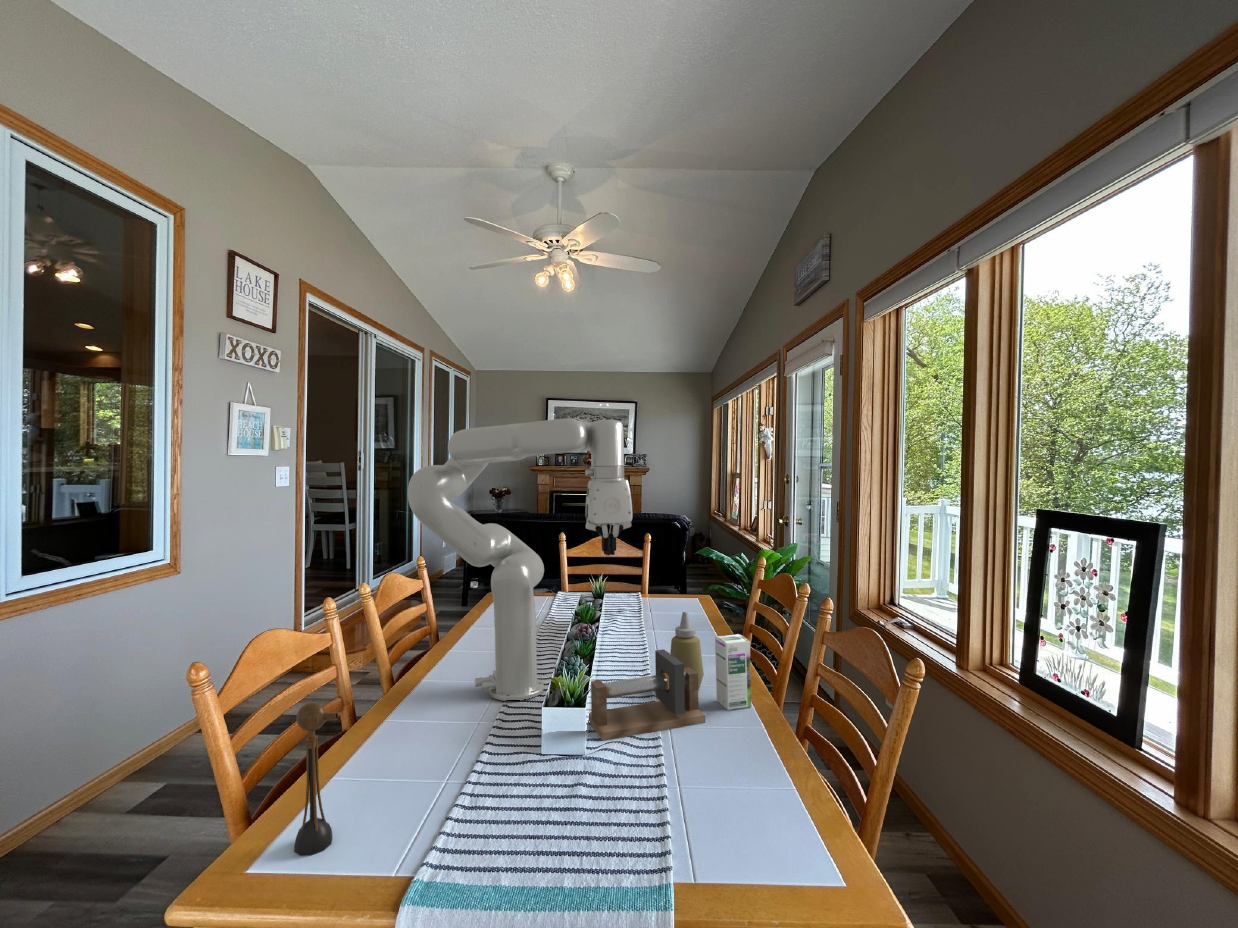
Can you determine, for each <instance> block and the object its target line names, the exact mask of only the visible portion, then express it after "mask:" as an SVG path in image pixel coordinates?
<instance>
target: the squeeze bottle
mask: <svg viewBox="0 0 1238 928" xmlns="http://www.w3.org/2000/svg"><path fill="white" fill-rule="evenodd" d="M674 631H675V634H674V635H675V636H673V637H672V638H671V643H670V652H669V653H670V654H671V655H672V656H674V657H675V658H677V659H678V660H679V661H681V662H682V663H684V668H687V667H690V668H691V669H693V670H694V671H696V672H697V673H698V692H699V691H700V688H701V684H702V681H703V678H704V676H705V675H704V666H703V657H702V656H703V655H702V649H701V648H702V647H701V639H700V638H699V637H698V636H697V635H696V628H695V626H692V625H691V622H690V617H689V613H688V611H683V612H682V614H681V619H680V625H677V626H676V627H675V630H674Z"/></svg>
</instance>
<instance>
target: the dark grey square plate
mask: <svg viewBox="0 0 1238 928" xmlns="http://www.w3.org/2000/svg"><path fill="white" fill-rule="evenodd" d="M654 652H655V653H654V654H655V655H654V657H655V662H654V663H655V675H661V674H664V673H667V674H668V675H669V689H668V690H658V691H655V697H656V698H657V699H658V701H661V702H662V703H663V704H664V705H665V706H666V707H667V708H669V709H670V710H671V711H672V712H673V713H674V714H675V715H680V714H685V695H684V663H682V662H681V661H679V660H678V659H677V658H675V657H674V656H672V655H671V654H670V652H668V651H667V650H666V649H656V650H654Z"/></svg>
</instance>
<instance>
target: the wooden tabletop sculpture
mask: <svg viewBox="0 0 1238 928" xmlns="http://www.w3.org/2000/svg"><path fill="white" fill-rule="evenodd" d="M338 718H339V712H338V711H332V712H328V711H327V712H326V709H325V707H324V706H323V704H320V703H318V702H316V701H313V702H307V703H305V704H304V705H302V706H301V707H300V708H299V710H297V713H296V720H295V721H296V722H297V723H296V724H297V726H299V728H301V729H302V731H307V732H308V736H307V737H305V740H304V741H305V749H306V752H305V753H306V754H305V756H306V784H305V786H306V787H305V788H306V789H305V790H306V792H305V804H304V814H303V819H302V820H303V821H302V825H301V827H300V828H299V829H298V831H297V834H296V837H295V841H294V848H293V849H294V853H295V854H297V855H298V856H303V857H304V856H312V855H315V854H318V853H320V852H321V853H322V852H324V851H325V850H326V849H327V848H328V847H330V846H331V845H332V843H333V831H332V830H333V829H332V827H331V825H330V823H328V821H326V818H325V814H324V809H323V803H322V799H321V797H322V796H321V789H320V778H319V777H320V776H319V773H320V771H319V770H320V769H319V740H318V738H319V735H317V734H316V730H319V729H321V727H323V725H324V724H325V722H327V721H337V720H338ZM317 800H318V807H319V812H320V816H321V817H318V810H317ZM308 805H309V807H308ZM308 808H309V809H308ZM308 810H309V820H307V815H308Z"/></svg>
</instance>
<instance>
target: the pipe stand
mask: <svg viewBox="0 0 1238 928" xmlns="http://www.w3.org/2000/svg"><path fill="white" fill-rule="evenodd" d="M668 689H669V675H668V674H667V673H664V674H661V675H656V674H654V675H648V676H641V677H635V678H628V679H621V680H614V681H608V682H603V681H602V680H601V679H600V680H599V679H598V680H597V679H596V680H592V681H590V701H591V703H590V704H591V707H590V708H591V710H590V711H591V712H590V713H589V712H588V713H589V721H590V723H589V725H591V727H592V728H593V730H594V731H595V733H596V735H597V736H598V737H599V738H600V740H601V741H602V742H604V741H609V740H610V741H611V740H615V739H621V738H627V737H632V736H637V735H643V734H648V733H653V732H659V731H665V730H670V729H671V730H672V729H677V728H682V727H687V726H693V725H698V724H703V723H704V724H705V723H706V714H705V713H704V712H702V711H701V710H700V709H699V691H698V673H697V672H696V671H694V670H693V669H691V668H690V667H687V668H684V695H685V714H680V715H675V714H674V713H673V712H672V711H671V710H670V709H669V708H667V707H666V706H665V705H664V704H663V703H662V702H661V701H660V700H656V701H652V702H650V701H649V702H644V703H639V704H632V705H626V706H622V707H620V706H619V707H615V708H608V702H607V701H608V699H612V698H619V697H625V696H631V695H638V694H643V693H645V694H646V693H650V692H651V693H652V692H656V691H658V690H668ZM589 721H588V722H589Z"/></svg>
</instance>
